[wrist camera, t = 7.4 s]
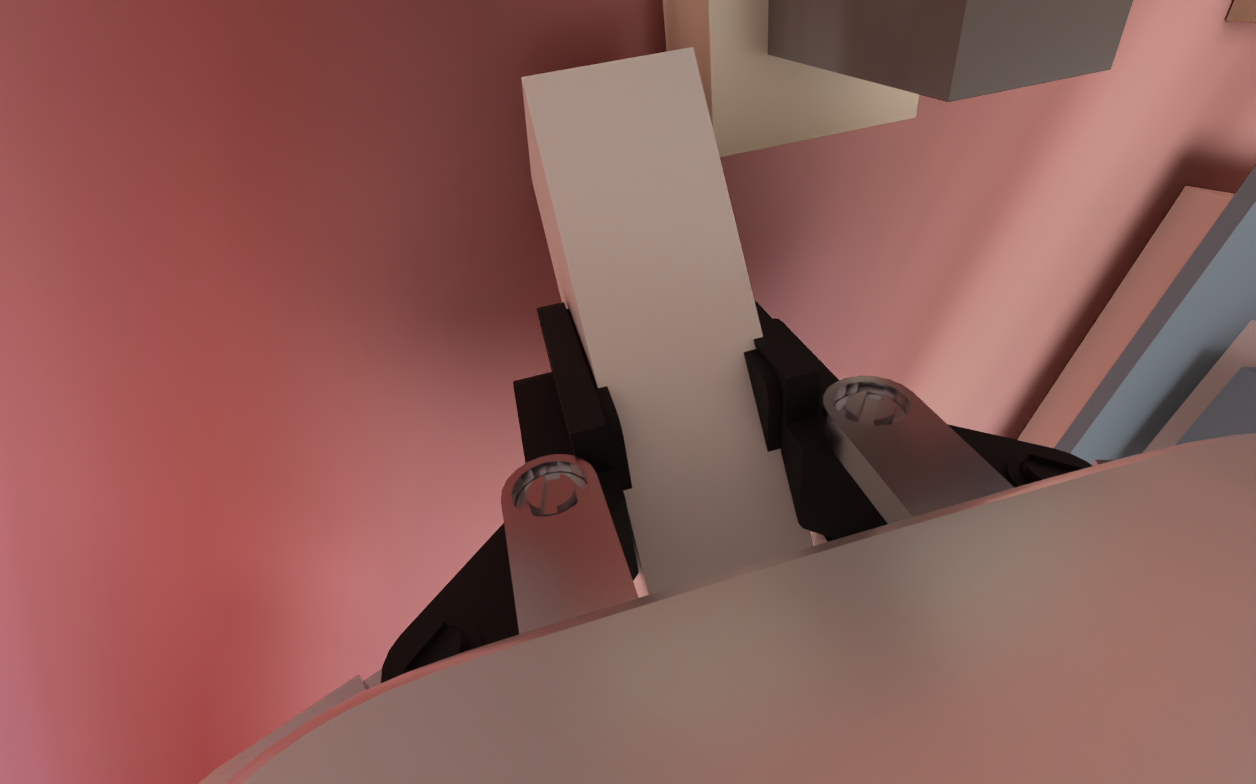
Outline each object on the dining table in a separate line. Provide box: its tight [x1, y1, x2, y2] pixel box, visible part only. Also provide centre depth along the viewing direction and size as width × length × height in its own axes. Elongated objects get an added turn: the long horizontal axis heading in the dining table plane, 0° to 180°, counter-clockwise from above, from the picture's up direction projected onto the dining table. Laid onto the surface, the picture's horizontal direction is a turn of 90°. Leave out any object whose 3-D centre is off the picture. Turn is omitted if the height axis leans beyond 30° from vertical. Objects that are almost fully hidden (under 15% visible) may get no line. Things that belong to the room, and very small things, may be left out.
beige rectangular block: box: [521, 47, 814, 598], centre depth 11 cm, size 9×3×4 cm
